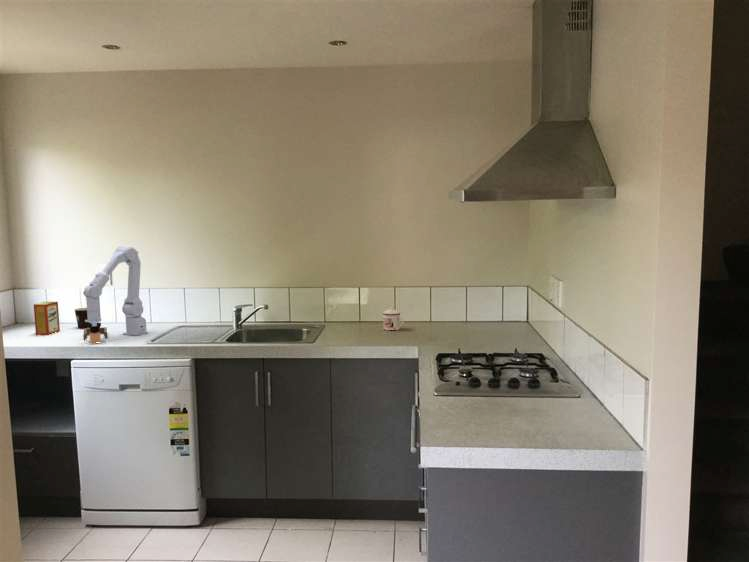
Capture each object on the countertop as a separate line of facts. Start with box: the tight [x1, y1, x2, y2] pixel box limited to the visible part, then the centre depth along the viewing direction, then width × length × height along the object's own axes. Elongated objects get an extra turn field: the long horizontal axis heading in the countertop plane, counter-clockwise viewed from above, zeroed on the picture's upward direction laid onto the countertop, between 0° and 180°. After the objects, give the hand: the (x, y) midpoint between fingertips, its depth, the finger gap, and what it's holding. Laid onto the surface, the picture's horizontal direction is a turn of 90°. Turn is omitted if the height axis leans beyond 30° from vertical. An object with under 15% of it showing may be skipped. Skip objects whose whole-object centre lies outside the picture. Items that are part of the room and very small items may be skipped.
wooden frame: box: [82, 327, 108, 341], centre depth 300 cm, size 14×10×3 cm
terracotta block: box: [89, 332, 101, 344], centre depth 286 cm, size 4×4×4 cm
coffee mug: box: [74, 307, 92, 330], centre depth 321 cm, size 12×9×10 cm
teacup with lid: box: [382, 306, 405, 331], centre depth 310 cm, size 12×9×12 cm
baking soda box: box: [33, 301, 61, 336], centre depth 308 cm, size 10×6×16 cm
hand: (95, 338), depth 289 cm, fingers closed
